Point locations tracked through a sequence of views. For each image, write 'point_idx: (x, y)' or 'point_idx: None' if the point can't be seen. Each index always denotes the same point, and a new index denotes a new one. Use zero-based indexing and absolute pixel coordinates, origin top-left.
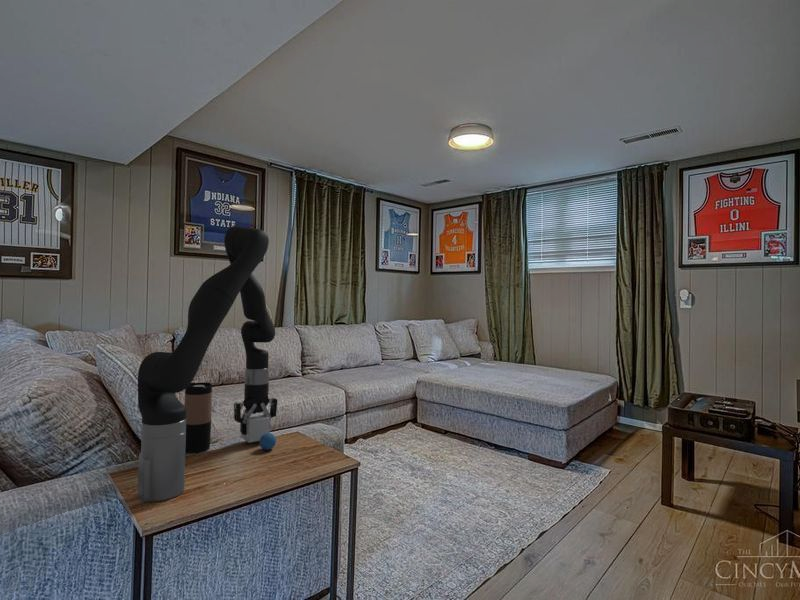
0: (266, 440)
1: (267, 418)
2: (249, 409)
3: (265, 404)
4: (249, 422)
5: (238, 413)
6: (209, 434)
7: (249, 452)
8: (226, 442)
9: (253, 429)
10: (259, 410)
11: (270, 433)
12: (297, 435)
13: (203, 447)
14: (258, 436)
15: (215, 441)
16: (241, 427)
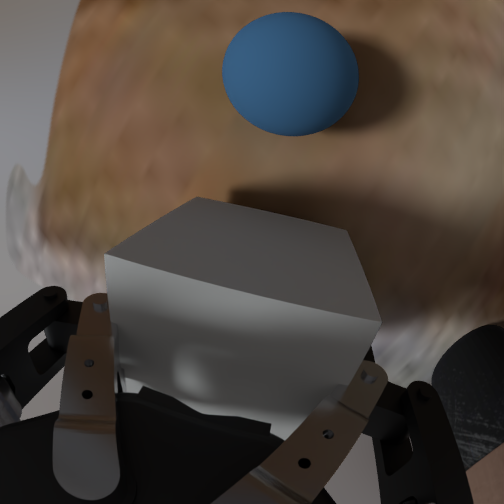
0: (334, 28)
1: (134, 260)
2: (321, 488)
3: (48, 436)
4: (377, 313)
5: (448, 456)
6: (490, 382)
7: (400, 133)
8: None
9: (321, 258)
10: (161, 421)
11: (263, 44)
12: (55, 190)
13: (497, 335)
14: (275, 222)
15: None
16: (368, 355)
